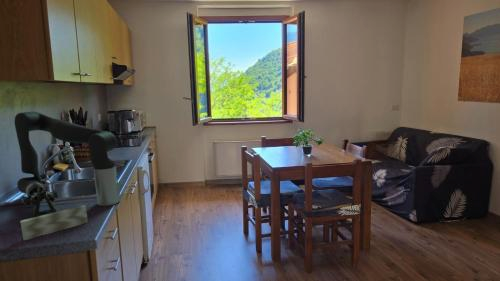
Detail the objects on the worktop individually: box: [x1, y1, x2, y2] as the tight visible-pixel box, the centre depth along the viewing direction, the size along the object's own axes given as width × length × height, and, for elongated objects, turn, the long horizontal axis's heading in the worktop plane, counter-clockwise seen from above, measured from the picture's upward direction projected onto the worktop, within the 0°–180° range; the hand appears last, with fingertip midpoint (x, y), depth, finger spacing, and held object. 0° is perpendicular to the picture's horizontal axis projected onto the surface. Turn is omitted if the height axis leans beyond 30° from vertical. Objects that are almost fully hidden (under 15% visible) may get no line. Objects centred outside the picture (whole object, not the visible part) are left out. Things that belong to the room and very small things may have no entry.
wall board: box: [19, 204, 89, 241], centre depth 137 cm, size 22×14×7 cm, turn 131°
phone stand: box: [32, 185, 58, 218], centre depth 148 cm, size 9×6×12 cm, turn 123°
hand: (44, 201), depth 147 cm, fingers open, 6 cm apart
